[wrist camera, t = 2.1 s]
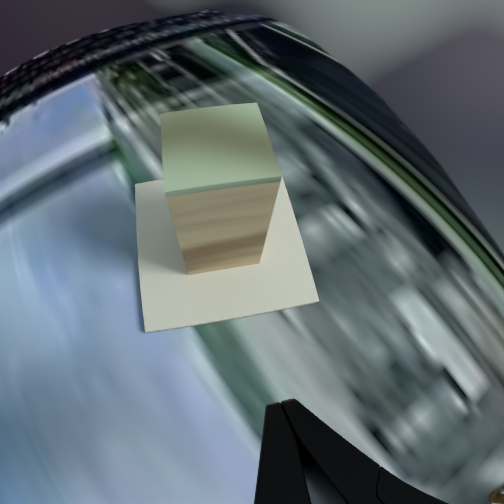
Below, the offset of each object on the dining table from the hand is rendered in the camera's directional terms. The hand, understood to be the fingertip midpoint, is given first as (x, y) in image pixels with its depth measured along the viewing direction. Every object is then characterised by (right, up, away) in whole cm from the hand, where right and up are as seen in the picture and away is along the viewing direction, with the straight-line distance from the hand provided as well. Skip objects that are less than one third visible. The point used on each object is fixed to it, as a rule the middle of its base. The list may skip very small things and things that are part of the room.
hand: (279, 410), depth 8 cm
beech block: (-3, +5, +15) cm, 16 cm away
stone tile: (-3, +5, +15) cm, 17 cm away
